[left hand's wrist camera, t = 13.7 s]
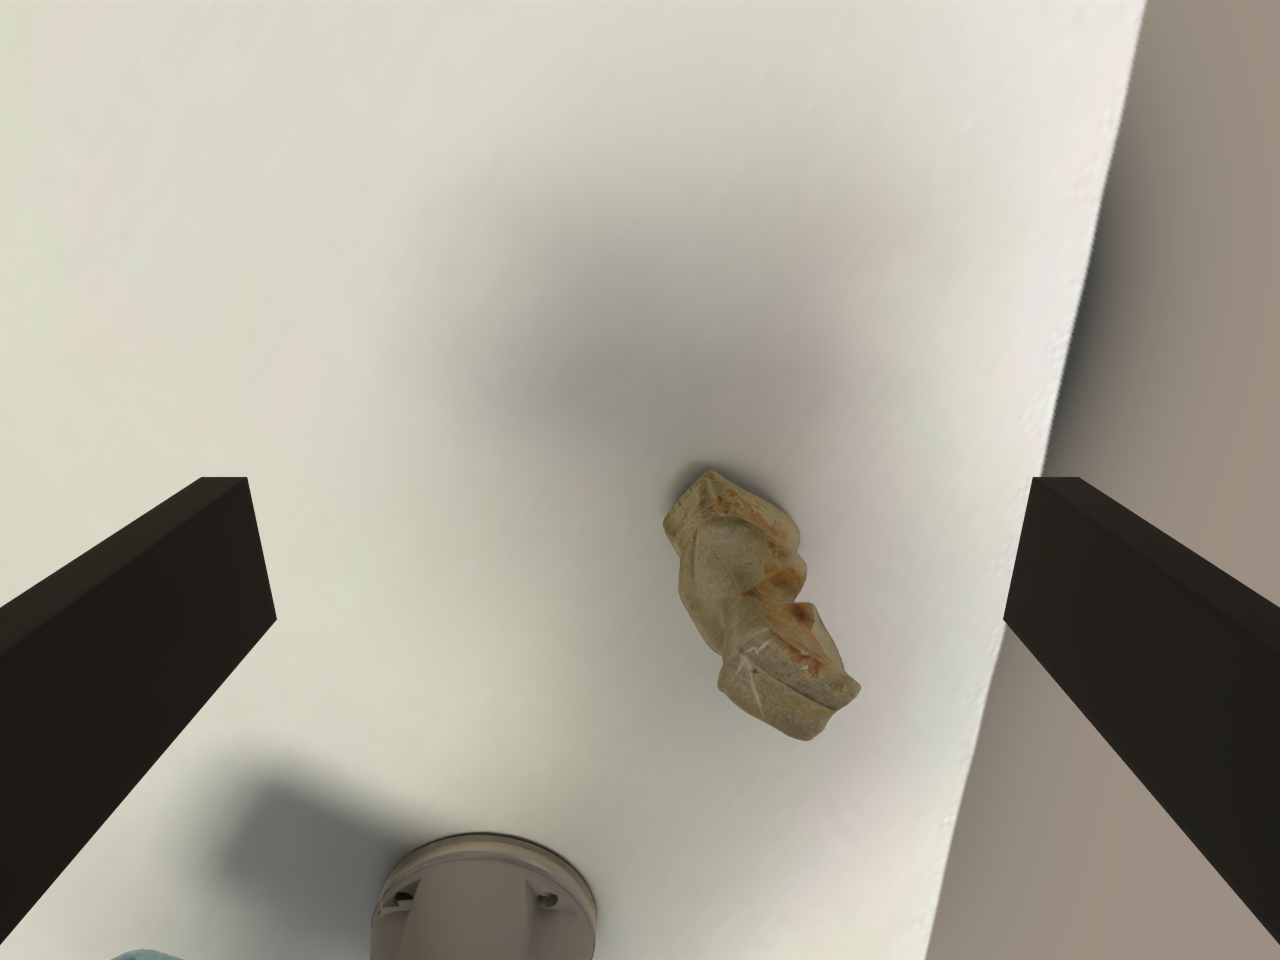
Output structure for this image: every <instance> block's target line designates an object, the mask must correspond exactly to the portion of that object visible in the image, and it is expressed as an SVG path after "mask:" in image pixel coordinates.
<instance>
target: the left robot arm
mask: <svg viewBox="0 0 1280 960" xmlns="http://www.w3.org/2000/svg"><path fill="white" fill-rule="evenodd" d="M276 620H277V617H276V612H275V608H274V603H273V598H272V593H271V589H270V584H269V579H268V574H267V570H266V565H265V560H264V555H263V550H262V546H261V541H260V536H259V531H258V527H257V522H256V517H255V512H254V507H253V503H252V498H251V493H250V488H249V484H248V479H247V477H201V478H199V479H198V480H196V481H195V482H193V483H191V484H190V485H188V486H187V487H185V488H184V489H182V490H181V491H179V492H178V493H176V494H175V495H173V496H171V497H170V498H168V499H167V500H165V501H164V502H162V503H161V504H159V505H158V506H156V507H155V508H153V509H151V510H150V511H148V512H147V513H145V514H144V515H142V516H141V517H139V518H138V519H136V520H135V521H133V522H131V523H130V524H128V525H127V526H125V527H124V528H122V529H121V530H119V531H118V532H116V533H115V534H113V535H111V536H110V537H108V538H107V539H105V540H104V541H102V542H101V543H99V544H98V545H96V546H94V547H93V548H91V549H90V550H88V551H87V552H85V553H84V554H82V555H81V556H79V557H78V558H76V559H74V560H73V561H71V562H70V563H68V564H67V565H65V566H64V567H62V568H61V569H59V570H58V571H56V572H54V573H53V574H51V575H50V576H48V577H47V578H45V579H44V580H42V581H41V582H39V583H38V584H36V585H34V586H33V587H31V588H30V589H28V590H27V591H25V592H24V593H22V594H21V595H19V596H18V597H16V598H14V599H13V600H11V601H10V602H8V603H7V604H5V605H4V606H2V607H1V608H0V945H1V943H2V942H3V941H4V940H5V939H6V938H7V936H8V935H9V934H10V933H11V932H12V930H13V929H14V928H15V927H16V926H17V925H18V923H19V922H20V921H21V920H22V919H23V918H24V916H25V915H26V914H27V913H28V912H29V910H30V909H31V908H32V907H33V906H34V905H35V903H36V902H37V901H38V900H39V899H40V898H41V896H42V895H43V894H44V893H45V892H46V890H47V889H48V888H49V887H50V886H51V885H52V883H53V882H54V881H55V880H56V879H57V878H58V876H59V875H60V874H61V873H62V872H63V870H64V869H65V868H66V867H67V866H68V865H69V863H70V862H71V861H72V860H73V859H74V858H75V856H76V855H77V854H78V853H79V852H80V850H81V849H82V848H83V847H84V846H85V845H86V843H87V842H88V841H89V840H90V839H91V838H92V836H93V835H94V834H95V833H96V832H97V830H98V829H99V828H100V827H101V826H102V825H103V823H104V822H105V821H106V820H107V819H108V818H109V816H110V815H111V814H112V813H113V812H114V810H115V809H116V808H117V807H118V806H119V805H120V803H121V802H122V801H123V800H124V799H125V798H126V796H127V795H128V794H129V793H130V792H131V790H132V789H133V788H134V787H135V786H136V785H137V783H138V782H139V781H140V780H141V779H142V778H143V776H144V775H145V774H146V773H147V772H148V770H149V769H150V768H151V767H152V766H153V765H154V763H155V762H156V761H157V760H158V759H159V758H160V756H161V755H162V754H163V753H164V752H165V750H166V749H167V748H168V747H169V746H170V745H171V743H172V742H173V741H174V740H175V739H176V738H177V736H178V735H179V734H180V733H181V732H182V730H183V729H184V728H185V727H186V726H187V725H188V723H189V722H190V721H191V720H192V719H193V718H194V716H195V715H196V714H197V713H198V712H199V710H200V709H201V708H202V707H203V706H204V705H205V703H206V702H207V701H208V700H209V699H210V698H211V696H212V695H213V694H214V693H215V692H216V690H217V689H218V688H219V687H220V686H221V685H222V683H223V682H224V681H225V680H226V679H227V678H228V676H229V675H230V674H231V673H232V672H233V670H234V669H235V668H236V667H237V666H238V665H239V663H240V662H241V661H242V660H243V659H244V658H245V656H246V655H247V654H248V653H249V652H250V650H251V649H252V648H253V647H254V646H255V645H256V643H257V642H258V641H259V640H260V639H261V638H262V636H263V635H264V634H265V633H266V632H267V630H268V629H269V628H270V627H271V626H272V625H273V623H274V622H275V621H276ZM1003 620H1004V621H1005V622H1006V623H1007V625H1008V626H1009V627H1010V628H1011V629H1012V630H1013V632H1014V633H1015V634H1016V635H1017V636H1018V638H1019V639H1020V640H1021V641H1022V642H1023V643H1024V645H1025V646H1026V647H1027V648H1028V649H1029V650H1030V652H1031V653H1032V654H1033V655H1034V656H1035V658H1036V659H1037V660H1038V661H1039V662H1040V663H1041V664H1042V666H1043V667H1044V668H1045V669H1046V670H1047V672H1048V673H1049V674H1050V675H1051V676H1052V678H1053V679H1054V680H1055V681H1056V682H1057V683H1058V685H1059V686H1060V687H1061V688H1062V689H1063V690H1064V692H1065V693H1066V694H1067V695H1068V696H1069V697H1070V699H1071V700H1072V701H1073V702H1074V703H1075V704H1076V706H1077V707H1078V708H1079V709H1080V710H1081V712H1082V713H1083V714H1084V715H1085V716H1086V718H1087V719H1088V720H1089V721H1090V722H1091V723H1092V725H1093V726H1094V727H1095V728H1096V729H1097V730H1098V732H1099V733H1100V734H1101V735H1102V736H1103V738H1104V739H1105V740H1106V741H1107V742H1108V743H1109V745H1110V746H1111V747H1112V748H1113V749H1114V750H1115V752H1116V753H1117V754H1118V755H1119V756H1120V757H1121V759H1122V760H1123V761H1124V762H1125V763H1126V765H1127V766H1128V767H1129V768H1130V769H1131V770H1132V772H1133V773H1134V774H1135V775H1136V776H1137V778H1138V779H1139V780H1140V781H1141V782H1142V783H1143V785H1144V786H1145V787H1146V788H1147V789H1148V790H1149V792H1150V793H1151V794H1152V795H1153V796H1154V797H1155V799H1156V800H1157V801H1158V802H1159V803H1160V805H1161V806H1162V807H1163V808H1164V809H1165V810H1166V812H1167V813H1168V814H1169V815H1170V816H1171V818H1172V819H1173V820H1174V821H1175V822H1176V823H1177V825H1178V826H1179V827H1180V828H1181V829H1182V830H1183V832H1184V833H1185V834H1186V835H1187V836H1188V838H1189V839H1190V840H1191V841H1192V842H1193V843H1194V845H1195V846H1196V847H1197V848H1198V849H1199V850H1200V852H1201V853H1202V854H1203V855H1204V856H1205V858H1206V859H1207V860H1208V861H1209V862H1210V863H1211V865H1212V866H1213V867H1214V868H1215V869H1216V870H1217V872H1218V873H1219V874H1220V875H1221V876H1222V878H1223V879H1224V880H1225V881H1226V882H1227V883H1228V885H1229V886H1230V887H1231V888H1232V889H1233V890H1234V892H1235V893H1236V894H1237V895H1238V896H1239V898H1240V899H1241V900H1242V901H1243V902H1244V903H1245V905H1246V906H1247V907H1248V908H1249V909H1250V910H1251V912H1252V913H1253V914H1254V915H1255V916H1256V918H1257V919H1258V920H1259V921H1260V922H1261V923H1262V925H1263V926H1264V927H1265V928H1266V929H1267V930H1268V932H1269V933H1270V934H1271V935H1272V936H1273V938H1274V939H1275V940H1276V941H1277V942H1278V943H1279V945H1280V608H1279V607H1278V606H1276V605H1275V604H1273V603H1272V602H1270V601H1269V600H1267V599H1266V598H1264V597H1262V596H1261V595H1259V594H1258V593H1256V592H1255V591H1253V590H1252V589H1250V588H1249V587H1247V586H1246V585H1244V584H1242V583H1241V582H1239V581H1238V580H1236V579H1235V578H1233V577H1232V576H1230V575H1228V574H1227V573H1226V572H1224V571H1222V570H1221V569H1219V568H1218V567H1216V566H1215V565H1213V564H1212V563H1210V562H1209V561H1207V560H1206V559H1204V558H1202V557H1201V556H1199V555H1198V554H1196V553H1195V552H1193V551H1192V550H1190V549H1189V548H1187V547H1186V546H1184V545H1182V544H1181V543H1179V542H1178V541H1176V540H1175V539H1173V538H1172V537H1170V536H1169V535H1167V534H1165V533H1164V532H1162V531H1161V530H1159V529H1158V528H1156V527H1155V526H1153V525H1152V524H1150V523H1149V522H1147V521H1145V520H1144V519H1142V518H1141V517H1139V516H1138V515H1136V514H1135V513H1133V512H1132V511H1130V510H1129V509H1127V508H1125V507H1124V506H1122V505H1121V504H1119V503H1118V502H1116V501H1115V500H1113V499H1112V498H1110V497H1108V496H1107V495H1105V494H1104V493H1102V492H1101V491H1099V490H1098V489H1096V488H1095V487H1093V486H1092V485H1090V484H1089V483H1087V482H1085V481H1084V480H1082V479H1081V478H1079V477H1033V479H1032V484H1031V488H1030V493H1029V498H1028V503H1027V507H1026V512H1025V517H1024V522H1023V527H1022V531H1021V536H1020V541H1019V546H1018V550H1017V555H1016V560H1015V565H1014V570H1013V574H1012V579H1011V584H1010V589H1009V593H1008V598H1007V603H1006V608H1005V612H1004V617H1003ZM595 934H596V908H595V904H594V900H593V898H592V895H591V893H590V891H589V889H588V887H587V885H586V884H585V882H584V881H583V879H582V878H581V877H580V876H579V875H578V874H577V872H576V871H575V870H574V869H572V868H571V867H570V866H569V865H568V864H567V863H565V862H564V861H563V860H562V859H560V858H559V857H557V856H555V855H554V854H552V853H550V852H548V851H547V850H545V849H543V848H540V847H538V846H536V845H533V844H530V843H527V842H524V841H521V840H517V839H513V838H508V837H502V836H494V835H466V836H458V837H452V838H447V839H444V840H440V841H437V842H434V843H431V844H429V845H426V846H424V847H422V848H420V849H418V850H416V851H415V852H413V853H411V854H410V855H409V856H407V857H406V858H405V859H403V860H402V861H401V862H400V863H399V864H398V865H397V866H396V867H395V868H394V869H393V871H392V872H391V873H390V875H389V876H388V878H387V880H386V882H385V884H384V886H383V889H382V891H381V894H380V897H379V899H378V902H377V905H376V908H375V910H374V914H373V917H372V922H371V960H592V958H593V954H594V949H595ZM112 960H183V959H180V958H177V957H173V956H170V955H167V954H164V953H161V952H158V951H155V950H149V949H141V950H134V951H130V952H126V953H124V954H121V955H119V956H117V957H115V958H114V959H112Z"/></svg>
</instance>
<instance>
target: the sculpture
mask: <svg viewBox="0 0 1280 960" xmlns="http://www.w3.org/2000/svg"><path fill="white" fill-rule="evenodd" d="M663 527H664V529H665V533H666V535H667V537H668V538H669V540H670V542H671V544H672V546H673V548H674V549H675V551H676V552H677V554H678V555H679V557H680V558H681V561H680V571H679V595H680V598H681V600H682V602H683V604H684V606H685V608H686V610H687V611H688V613H689V615H690V617H691V619H692V620H693V622H694V624H695V625H696V627H697V629H698V631H699V632H700V634H701V636H702V637H703V639H704V640H705V642H706V643H707V644H708V646H709V647H710V648H711V649H712V650H713V651H714V652H716V653H717V654H719V655H721V656H723V667H722V669H721V671H720V674H719V678H718V688H719V690H720V691H722V692H724V693H725V694H726V695H727V696H728V698H729V699H730V700H731V701H732V702H733V703H734V704H736V705H737V706H738V707H740V708H741V709H742V710H744V711H745V712H747V713H748V714H750V715H752V716H754V717H756V718H758V719H759V720H761V721H763V722H765V723H767V724H769V725H771V726H773V727H774V728H776V729H778V730H779V731H781V732H783V733H784V734H786V735H788V736H789V737H792V738H795V739H799V740H803V741H809V740H811V739H812V738H814V737H815V736H816V735H818V734H819V733H820V732H822V731H823V730H824V728H825V726H826V724H827V722H828V720H829V719H830V718H831V716H832V715H833V714H834V713H835V712H836V711H838V710H839V709H841V708H843V707H844V706H846V705H847V704H848V703H850V702H851V701H852V700H853V699H854V698H856V696H857V695H858V694H859V692H860V690H861V686H860V684H859V683H858V682H856V681H855V680H854V679H853V678H851V677H850V676H849V675H848V674H847V673H846V672H845V670H844V666H843V663H842V660H841V657H840V654H839V652H838V650H837V647H836V645H835V643H834V641H833V639H832V638H831V636H830V634H829V633H828V631H827V630H826V628H825V626H824V624H823V622H822V620H821V618H820V616H819V614H818V611H817V609H816V607H815V605H813V604H812V603H809V602H801V603H794V600H795V598H796V597H797V595H798V594H799V592H800V590H801V589H802V587H803V585H804V583H805V580H806V576H807V567H806V563H805V562H804V560H803V559H802V558H801V557H800V556H799V555H798V554H797V553H796V551H797V549H798V547H799V542H800V533H799V530H798V528H797V526H796V525H795V523H794V522H793V521H792V519H791V518H790V517H789V516H787V515H786V514H785V513H784V512H783V511H781V510H780V509H779V508H777V507H776V506H774V505H773V504H771V503H769V502H767V501H766V500H764V499H762V498H760V497H758V496H756V495H755V494H752V493H750V492H748V491H746V490H744V489H742V488H740V487H738V486H737V485H735V484H733V483H732V482H730V481H729V480H727V479H726V478H724V477H723V476H722V475H721V474H719V473H718V472H715V471H712V470H707V471H706V472H704V473H703V474H702V475H701V476H700V477H699V478H698V479H697V480H696V481H695V482H694V483H693V484H692V485H691V486H690V487H689V488H688V490H687V491H686V492H685V493H684V494H683V495H682V496H681V497H680V498H679V499H678V501H677V502H676V503H675V504H674V505H673V507H672V508H671V509H670V511H669V512H668V514H667V516H666V517H665V519H664V521H663Z"/></svg>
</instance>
